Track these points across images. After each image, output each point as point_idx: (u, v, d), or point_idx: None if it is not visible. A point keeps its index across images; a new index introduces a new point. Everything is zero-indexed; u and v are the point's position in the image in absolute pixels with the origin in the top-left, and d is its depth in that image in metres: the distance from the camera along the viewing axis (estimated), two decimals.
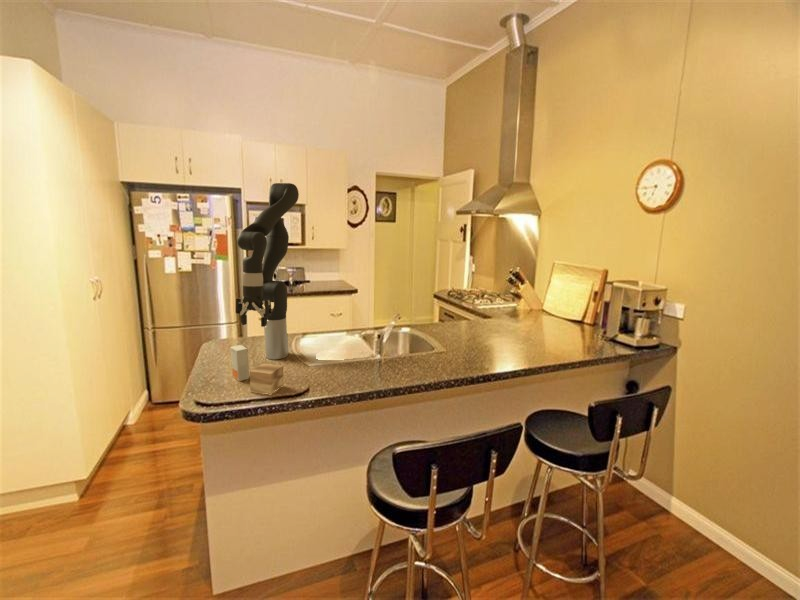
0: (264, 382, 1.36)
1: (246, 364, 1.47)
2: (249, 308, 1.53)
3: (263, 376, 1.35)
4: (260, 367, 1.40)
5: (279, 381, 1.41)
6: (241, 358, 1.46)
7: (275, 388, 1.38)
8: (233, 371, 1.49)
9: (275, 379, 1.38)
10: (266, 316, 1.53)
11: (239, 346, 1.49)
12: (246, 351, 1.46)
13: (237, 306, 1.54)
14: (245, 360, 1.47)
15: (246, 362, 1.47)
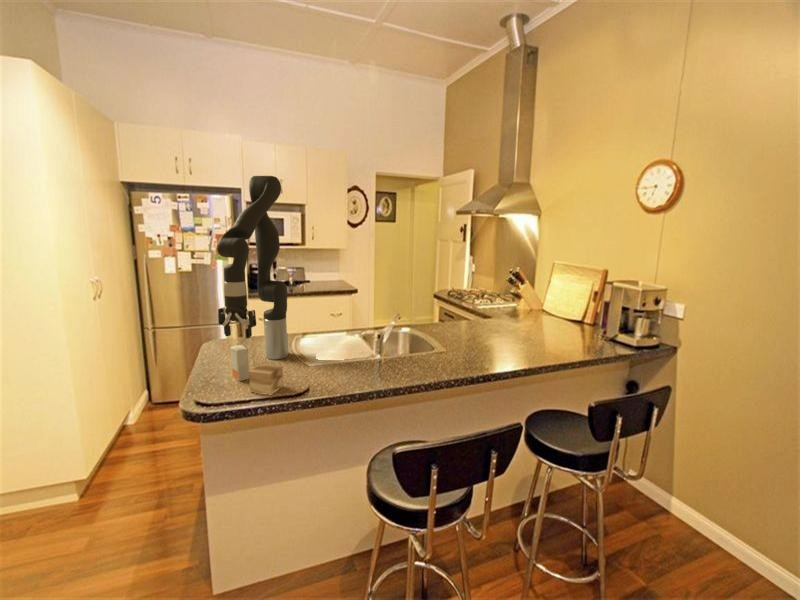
0: (263, 383, 1.36)
1: (246, 364, 1.47)
2: (232, 319, 1.44)
3: (262, 377, 1.35)
4: (260, 367, 1.40)
5: (279, 381, 1.40)
6: (241, 358, 1.46)
7: (275, 388, 1.38)
8: (233, 371, 1.49)
9: (274, 379, 1.38)
10: (250, 327, 1.44)
11: (239, 346, 1.49)
12: (246, 351, 1.46)
13: (220, 317, 1.45)
14: (245, 360, 1.47)
15: (246, 362, 1.47)
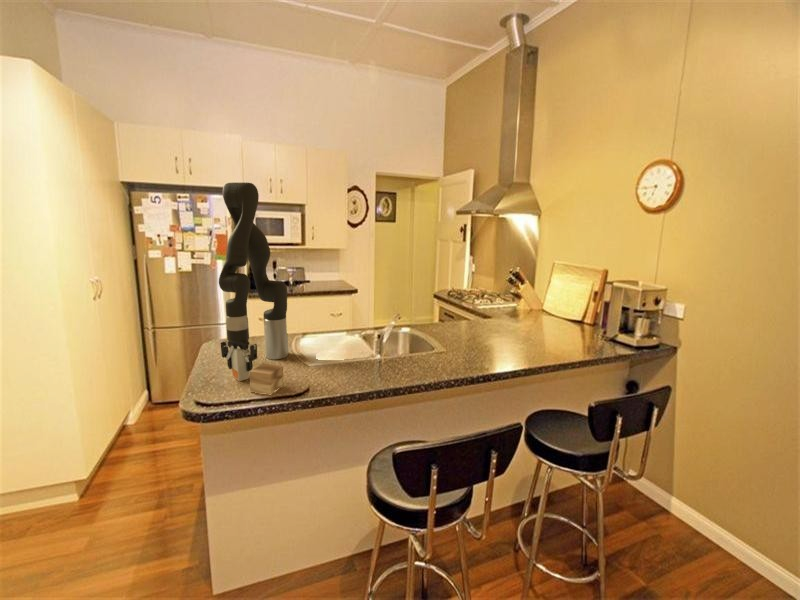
0: (263, 383, 1.36)
1: None
2: None
3: (262, 377, 1.35)
4: (260, 367, 1.40)
5: (279, 381, 1.40)
6: (241, 358, 1.46)
7: (275, 388, 1.38)
8: (233, 371, 1.49)
9: (274, 379, 1.37)
10: (251, 360, 1.47)
11: None
12: (246, 351, 1.46)
13: (223, 350, 1.48)
14: (245, 360, 1.47)
15: None
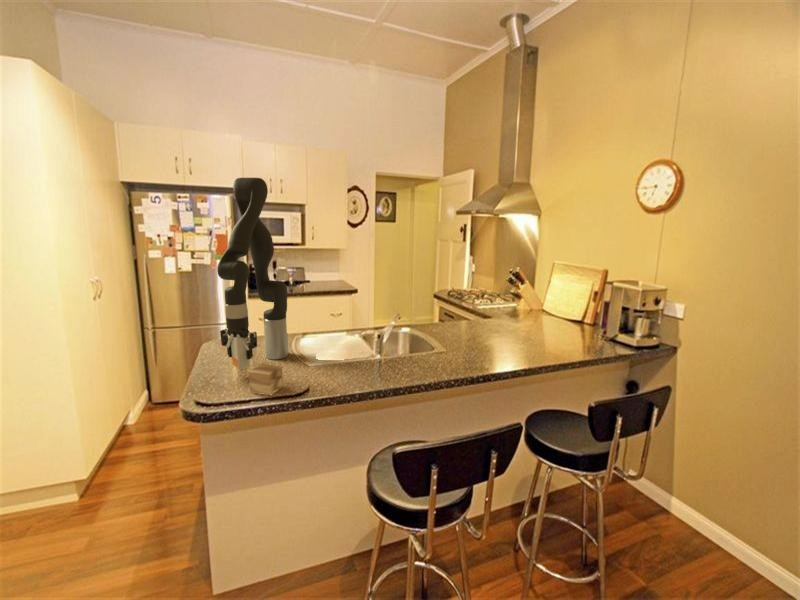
0: (262, 383, 1.35)
1: None
2: None
3: (261, 377, 1.35)
4: (259, 368, 1.39)
5: (279, 381, 1.40)
6: (241, 346, 1.45)
7: (275, 389, 1.38)
8: (233, 359, 1.48)
9: (273, 380, 1.37)
10: (251, 348, 1.46)
11: None
12: (246, 339, 1.46)
13: (222, 338, 1.47)
14: (245, 348, 1.46)
15: None
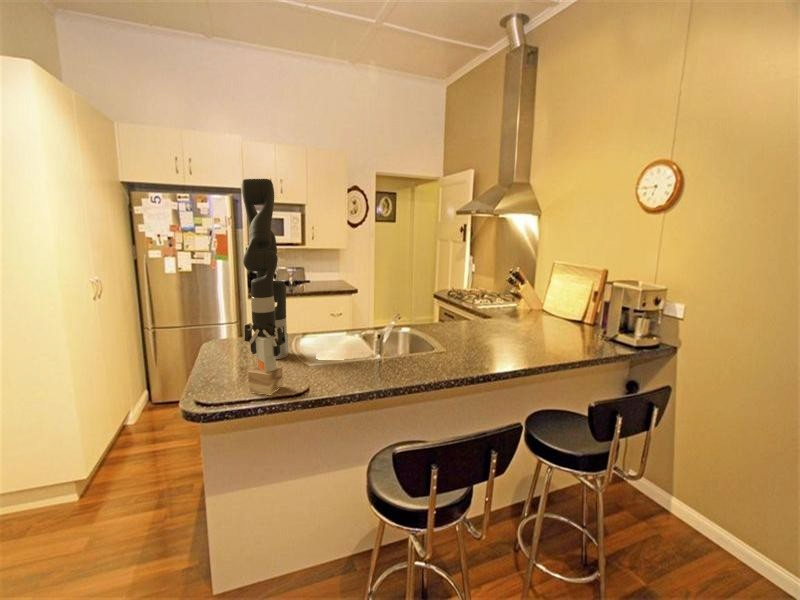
0: (261, 383, 1.35)
1: (273, 354, 1.36)
2: (260, 336, 1.36)
3: (260, 377, 1.35)
4: None
5: (278, 382, 1.40)
6: (268, 348, 1.34)
7: (274, 389, 1.38)
8: (258, 362, 1.37)
9: (273, 380, 1.37)
10: (279, 344, 1.36)
11: None
12: None
13: (246, 333, 1.37)
14: (272, 350, 1.36)
15: (273, 352, 1.36)
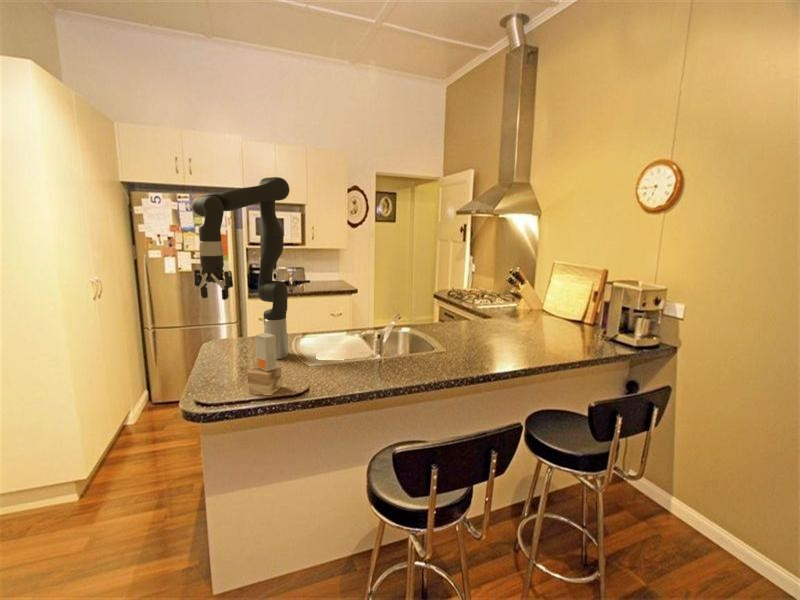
0: (261, 383, 1.35)
1: (274, 353, 1.37)
2: (209, 280, 1.42)
3: (260, 377, 1.35)
4: (258, 368, 1.39)
5: (277, 382, 1.40)
6: (270, 346, 1.35)
7: (274, 389, 1.38)
8: (259, 361, 1.37)
9: (272, 380, 1.37)
10: (227, 288, 1.42)
11: (265, 334, 1.38)
12: (274, 338, 1.36)
13: (196, 278, 1.43)
14: (273, 348, 1.36)
15: (274, 350, 1.37)
